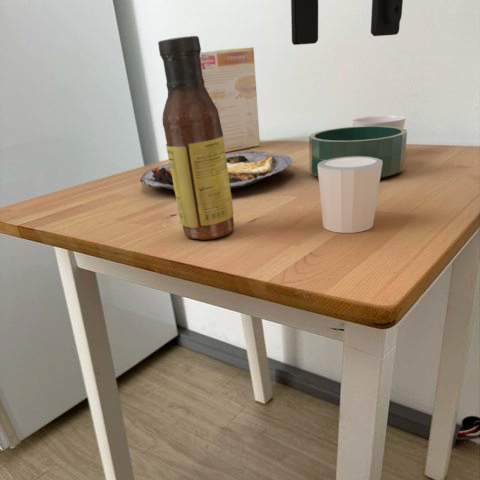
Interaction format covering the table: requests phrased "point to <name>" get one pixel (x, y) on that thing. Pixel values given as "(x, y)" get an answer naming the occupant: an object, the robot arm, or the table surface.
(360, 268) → the table surface
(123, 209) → the table surface
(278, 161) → the food plate
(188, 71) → the sauce bottle
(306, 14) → the robot arm
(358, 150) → the green round tub
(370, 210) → the white faceted cup
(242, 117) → the coffeecake box
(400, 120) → the pale round bowl
